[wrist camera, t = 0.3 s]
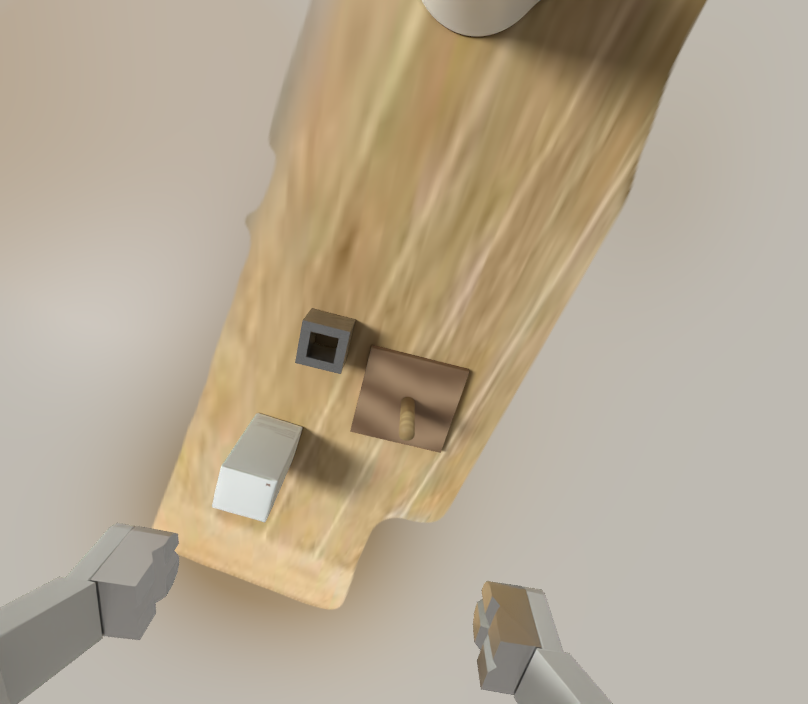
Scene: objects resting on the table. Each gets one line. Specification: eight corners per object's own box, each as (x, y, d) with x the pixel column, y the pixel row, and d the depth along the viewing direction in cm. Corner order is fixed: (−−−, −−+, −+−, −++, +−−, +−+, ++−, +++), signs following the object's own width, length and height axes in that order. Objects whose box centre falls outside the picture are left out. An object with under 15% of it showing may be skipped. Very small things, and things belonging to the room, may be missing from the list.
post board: (372, 344, 59) (364, 372, 50) (468, 369, 60) (477, 400, 51) (351, 427, 64) (341, 465, 56) (440, 448, 65) (443, 488, 57)
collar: (311, 308, 57) (302, 320, 52) (355, 319, 57) (350, 332, 53) (304, 348, 59) (295, 362, 54) (346, 358, 59) (340, 374, 55)
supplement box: (256, 410, 63) (220, 464, 51) (304, 426, 64) (279, 482, 52) (245, 449, 66) (209, 508, 54) (291, 463, 67) (265, 524, 55)
